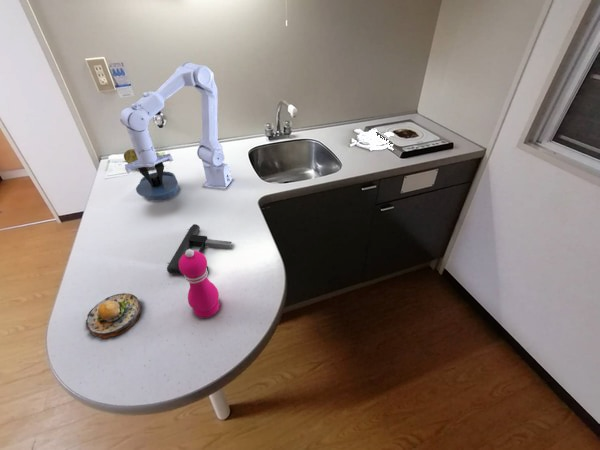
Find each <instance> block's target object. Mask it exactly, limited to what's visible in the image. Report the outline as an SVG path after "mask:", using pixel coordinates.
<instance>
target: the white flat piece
mask: <svg viewBox="0 0 600 450" xmlns="http://www.w3.org/2000/svg"><path fill="white" fill-rule="evenodd" d="M353 132H354V133H356V134H357V135H356V139H355V138H353V137H352V138H351V140H350V141H351V143H350V144H349V147H354V146H357V147H359V148H362V149H365V150H369V151H370V152H371V151H374V150H375V151H380V150H385V149H389V150H390V151H394V148H393V146H394V143H393V144H390V143H391V142H389V141H390V139H389V140H387V141H386V138H385V140H384V138H383V137H382V136H381V137H382V138H383V139H382V138H380V135H378V136H377V133H376V132H379V131H378V128H371V129H370V130H368V131H364V130H362V129H361V128H358V129H357V128H356V129H354V130H353ZM383 134H384V135H386V136H387V137H388V138H389V137H392V136H395V133H393V132H391V131H386V132H384V133H383ZM389 144H390V145H389Z"/></svg>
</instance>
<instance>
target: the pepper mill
mask: <svg viewBox="0 0 600 450" xmlns="http://www.w3.org/2000/svg"><path fill="white" fill-rule="evenodd" d="M207 266H208V260H207V257H206V256H205V254H203V253H201V252H199V250H193V249H192V248H190V249H188V250H186V252H185V254H184V255H182V257H181V258H180V260H179V269H180V271H181V273H182V274H181V275H183V276H184V279H185V281H186V282H187V283H188V284H189V289H188V293H187V302H188V305H189V307H191V308H192V310H193V313H194V314H195V316H196V317H198V318H199V319H200V318H201V319H207V318H211V317H212V316H214V315H215V314H216V313H217V312H218V311H219V309H220V301H219V296H220V294H219V290H218V288H217V287H216V285H215V284H214V283H213V282H211V281H210V280H209V278H208V274H209V270H208V271H207V268H206V267H207Z"/></svg>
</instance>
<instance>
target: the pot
mask: <svg viewBox="0 0 600 450" xmlns="http://www.w3.org/2000/svg"><path fill="white" fill-rule="evenodd" d="M149 175H150V177H151V176H152V175H157V172H156V171H155V172H152V173H151V172H150V173H149ZM163 176H172V177H174V178H176V175H175V173H173V172H171V171H167V170H166V171H165V170H163ZM176 179H177V178H176ZM144 180H146V178H145V177H144V176H143V177H142V178H141V179H140V181H139V183H141V182H142V181H144ZM179 189H180V187H179V184H178V185H177V187H176V188H175V189H174V190H173V191H171V192H169V193H167V194H165V195H161V196H157V197H144V198H145V199H147V200H149V201H153V202H154V201H155V202H156V201H163V200H167V199H170V198H172V197H174V196H175V195H176V194H177V193H178V192H179Z"/></svg>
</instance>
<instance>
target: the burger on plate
mask: <svg viewBox="0 0 600 450" xmlns="http://www.w3.org/2000/svg"><path fill="white" fill-rule="evenodd" d="M142 308H143V307H142V304H141V301H140V300H139V298H138V297H137V296H136V295H134V294H132V293H124V292H123V293H117V294H112V295H110V296H108V297H106V298H104V299H103V300H102V301H100V302H98V303H97V304H96V305H95V306H94V307H93V308H91V309H90V310H89V312H88V313H87V316H86V317H87V318H86V320H85V327H86V329H87V331H88V332H89V333H90V335H92V336H95V337H98V338H102V339H108V338H110V337H115V336H118V335H120V334H122V333H125V332H126V331H127V330H130V328H131V327H133V325H135V324H136V322H137V321H138V320H139V318H140V316H141V314H142Z"/></svg>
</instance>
